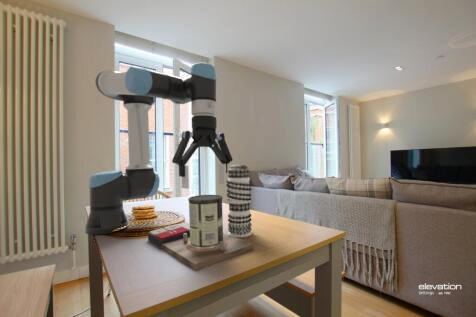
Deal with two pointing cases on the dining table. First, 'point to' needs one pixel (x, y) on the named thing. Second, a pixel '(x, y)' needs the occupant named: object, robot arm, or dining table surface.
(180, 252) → the pin board
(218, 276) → the dining table surface
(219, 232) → the coffee can
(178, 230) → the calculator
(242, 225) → the decorative candle
